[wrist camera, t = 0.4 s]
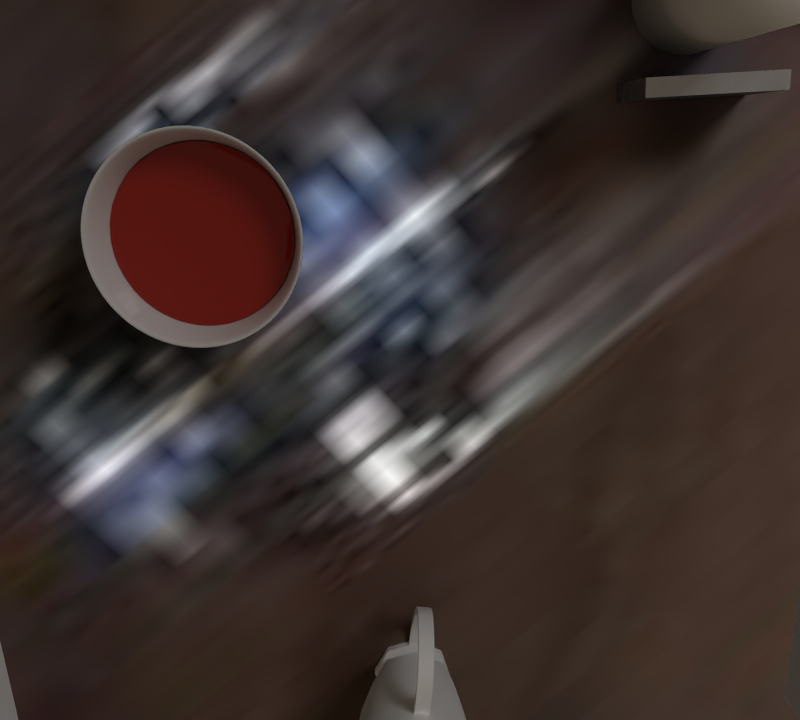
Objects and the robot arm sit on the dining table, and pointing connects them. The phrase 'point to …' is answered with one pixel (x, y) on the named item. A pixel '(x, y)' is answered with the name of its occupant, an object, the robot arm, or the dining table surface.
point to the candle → (191, 236)
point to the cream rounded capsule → (709, 22)
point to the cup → (413, 679)
